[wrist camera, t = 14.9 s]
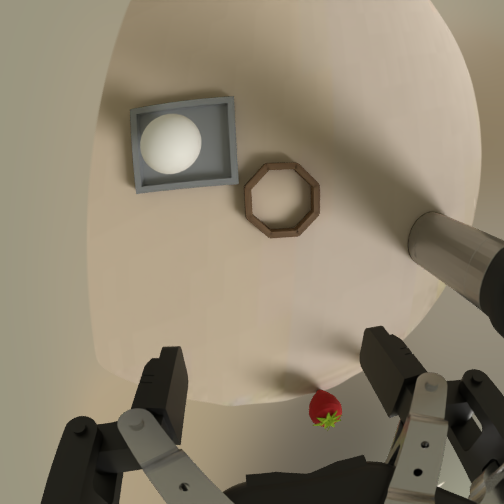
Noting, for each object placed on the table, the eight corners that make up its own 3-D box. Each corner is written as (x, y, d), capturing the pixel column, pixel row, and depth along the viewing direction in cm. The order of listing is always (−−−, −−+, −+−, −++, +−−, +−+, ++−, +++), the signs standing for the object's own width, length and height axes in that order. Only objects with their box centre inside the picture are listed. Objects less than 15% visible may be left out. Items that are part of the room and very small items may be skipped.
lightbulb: (180, 113, 33) (161, 96, 22) (217, 142, 34) (212, 136, 24) (150, 150, 34) (119, 150, 23) (185, 179, 35) (168, 189, 25)
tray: (233, 99, 33) (233, 96, 31) (238, 182, 37) (238, 184, 35) (134, 111, 33) (130, 109, 31) (140, 191, 36) (136, 193, 34)
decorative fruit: (309, 407, 51) (321, 445, 42) (298, 385, 49) (309, 426, 40) (337, 395, 51) (352, 432, 42) (328, 373, 49) (344, 412, 39)
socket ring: (315, 162, 37) (319, 162, 35) (316, 232, 40) (319, 235, 38) (242, 164, 36) (243, 164, 35) (246, 236, 39) (247, 239, 38)
